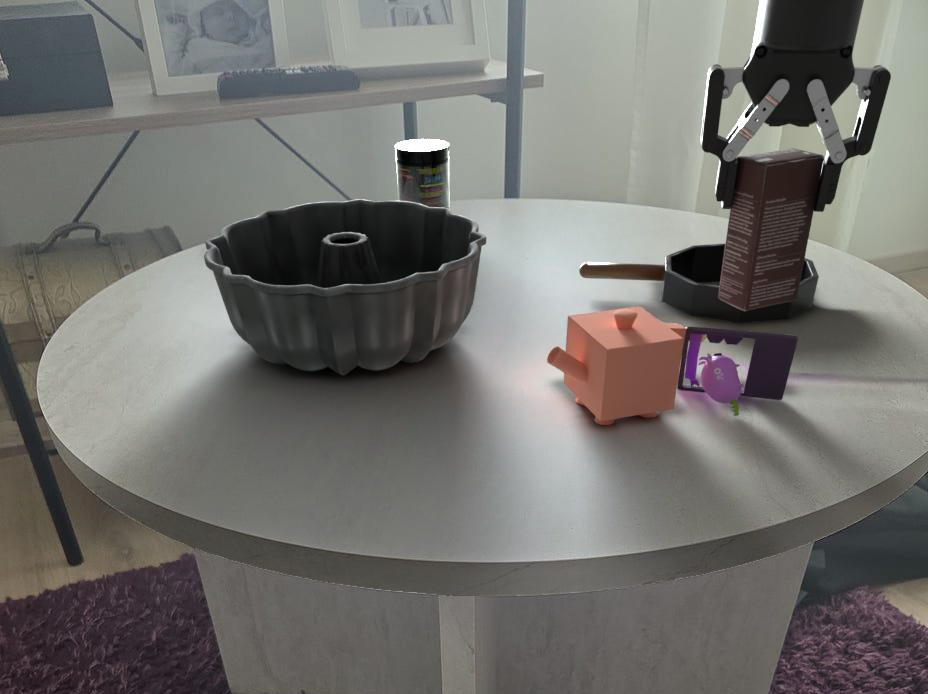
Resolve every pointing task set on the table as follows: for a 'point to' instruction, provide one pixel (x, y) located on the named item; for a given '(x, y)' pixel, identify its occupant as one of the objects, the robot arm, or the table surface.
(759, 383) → the purple frame figurine
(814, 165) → the box
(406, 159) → the supplement container
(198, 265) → the table surface
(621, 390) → the pink cube teapot
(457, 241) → the bundt pan
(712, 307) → the frying pan
